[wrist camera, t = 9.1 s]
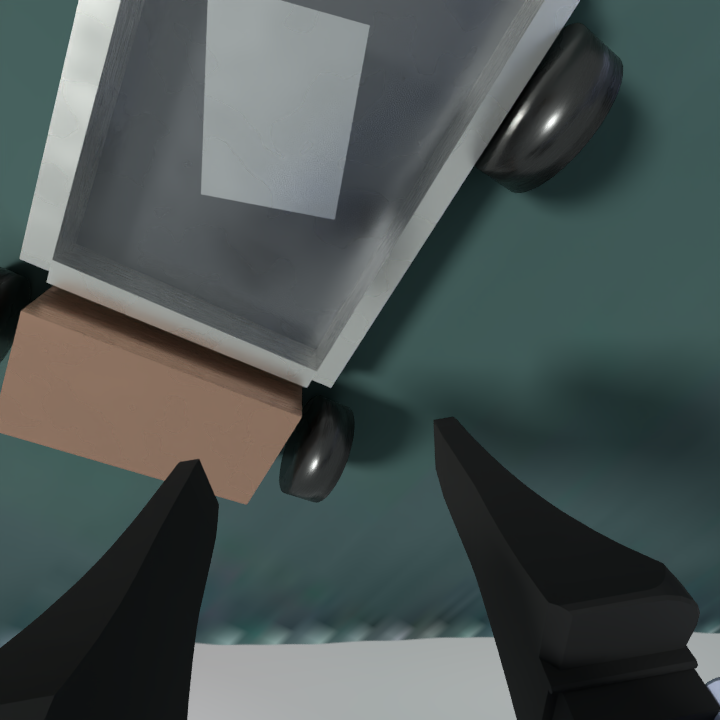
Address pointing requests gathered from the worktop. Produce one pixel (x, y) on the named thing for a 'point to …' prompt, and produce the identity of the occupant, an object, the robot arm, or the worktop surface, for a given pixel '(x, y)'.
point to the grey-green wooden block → (279, 103)
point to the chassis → (259, 230)
